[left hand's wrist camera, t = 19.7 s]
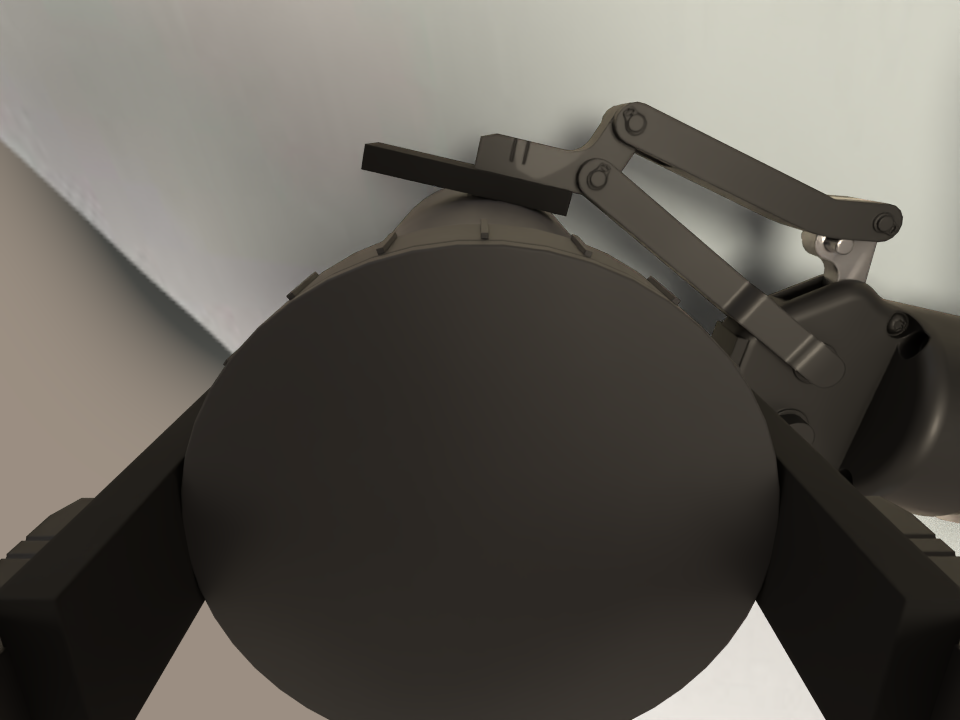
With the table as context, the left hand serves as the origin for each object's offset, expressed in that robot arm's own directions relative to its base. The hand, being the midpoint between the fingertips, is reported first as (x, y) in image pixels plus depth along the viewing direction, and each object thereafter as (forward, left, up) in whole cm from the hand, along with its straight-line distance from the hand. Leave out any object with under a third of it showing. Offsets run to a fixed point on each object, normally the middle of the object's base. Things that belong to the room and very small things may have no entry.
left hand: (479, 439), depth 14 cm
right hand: (-4, -3, -9) cm, 10 cm away
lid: (0, 0, +3) cm, 3 cm away
